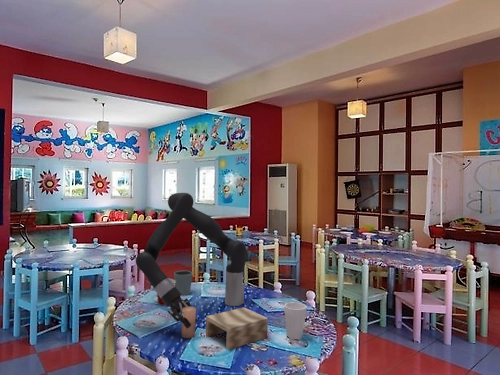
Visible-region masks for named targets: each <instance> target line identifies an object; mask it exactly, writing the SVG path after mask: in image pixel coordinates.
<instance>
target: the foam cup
mask: <svg viewBox="0 0 500 375" xmlns="http://www.w3.org/2000/svg"><path fill="white" fill-rule="evenodd" d="M307 308H308V306H307V305H306V304H305V303H302V302H295V301H292V302H286V303H284V306H283V311H284V320H285V329H286V330H285V332H286V337H287V336H288V337H289V338H291V339H290V340H292V339H299V340H301V339H302V337H303V334H304V329H305V328H304V327H305V321H306V315H307ZM288 337H287V338H288ZM289 338H288V339H289ZM300 338H301V339H300Z"/></svg>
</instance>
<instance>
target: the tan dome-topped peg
mask: <svg viewBox="0 0 500 375" xmlns="http://www.w3.org/2000/svg"><path fill="white" fill-rule="evenodd" d="M196 309H197V308H196V307H194V306H192V307H184V308H183V312H184V315H185V318H187V320H188V321H189V322H190V324H191V326H190V327H189V328H188V329H187V328H186V327H185V326H184V324H183V323H182V322H181V337H182V338H183V339H192V338H194V337H195V335H196V322H195V317H196V315H197V314H196V313H197V312H196V311H197V310H196ZM196 318H197V317H196Z"/></svg>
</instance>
